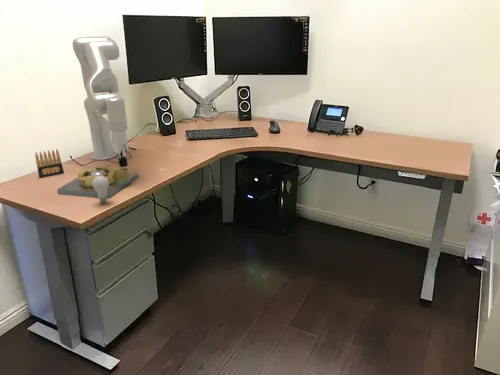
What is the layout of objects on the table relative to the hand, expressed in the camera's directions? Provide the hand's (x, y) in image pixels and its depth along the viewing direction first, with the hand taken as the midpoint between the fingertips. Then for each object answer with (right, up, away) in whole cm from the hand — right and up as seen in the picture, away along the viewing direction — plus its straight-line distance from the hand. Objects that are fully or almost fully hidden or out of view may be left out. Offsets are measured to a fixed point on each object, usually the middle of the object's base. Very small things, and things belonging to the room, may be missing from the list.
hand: (123, 166), depth 186 cm
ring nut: (-6, -6, -4) cm, 10 cm away
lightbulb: (-2, -16, -20) cm, 26 cm away
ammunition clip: (-37, -4, +10) cm, 38 cm away
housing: (-9, -8, -3) cm, 13 cm away
